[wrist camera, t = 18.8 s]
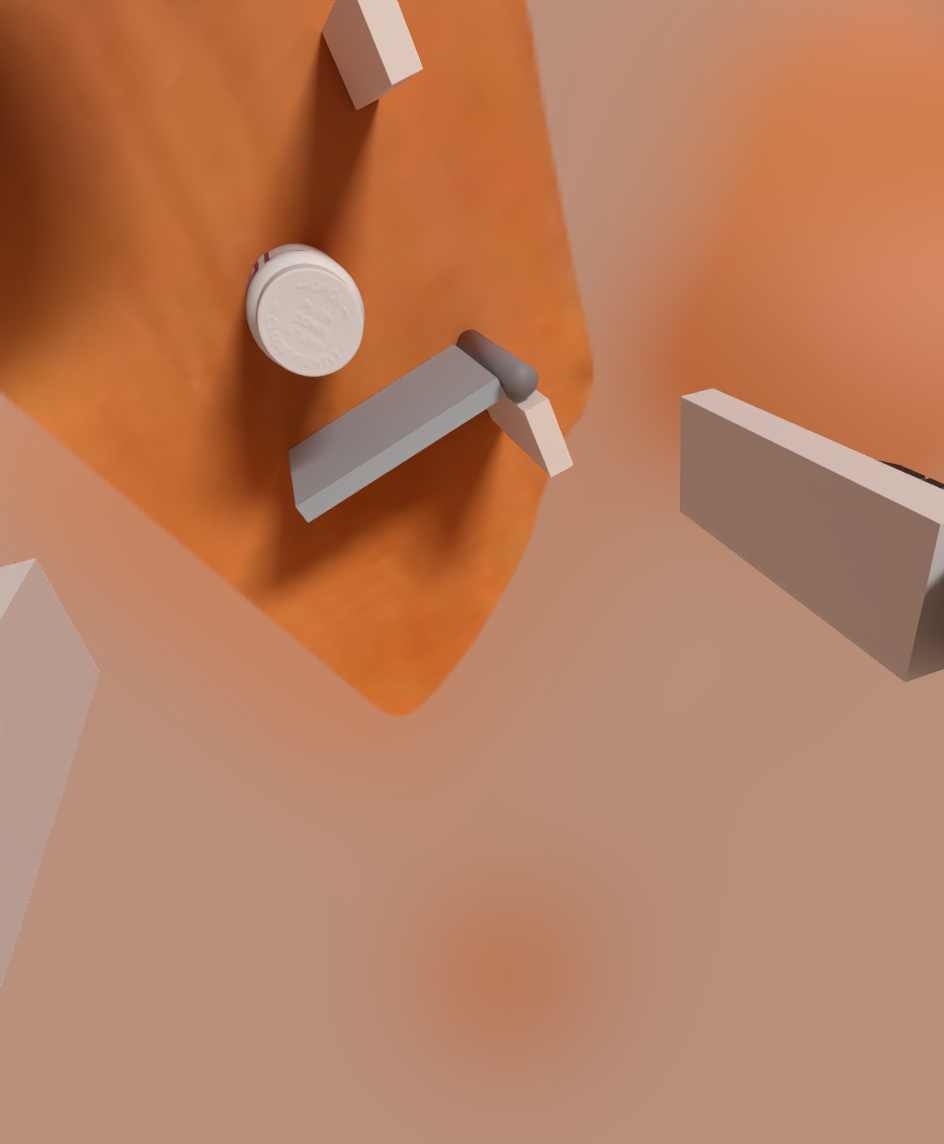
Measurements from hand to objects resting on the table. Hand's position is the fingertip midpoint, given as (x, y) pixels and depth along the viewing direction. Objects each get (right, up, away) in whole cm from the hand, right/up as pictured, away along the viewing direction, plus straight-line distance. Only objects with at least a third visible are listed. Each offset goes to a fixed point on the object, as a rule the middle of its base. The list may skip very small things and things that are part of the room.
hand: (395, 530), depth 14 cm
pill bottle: (-9, +17, +29) cm, 35 cm away
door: (-4, +11, +34) cm, 36 cm away
